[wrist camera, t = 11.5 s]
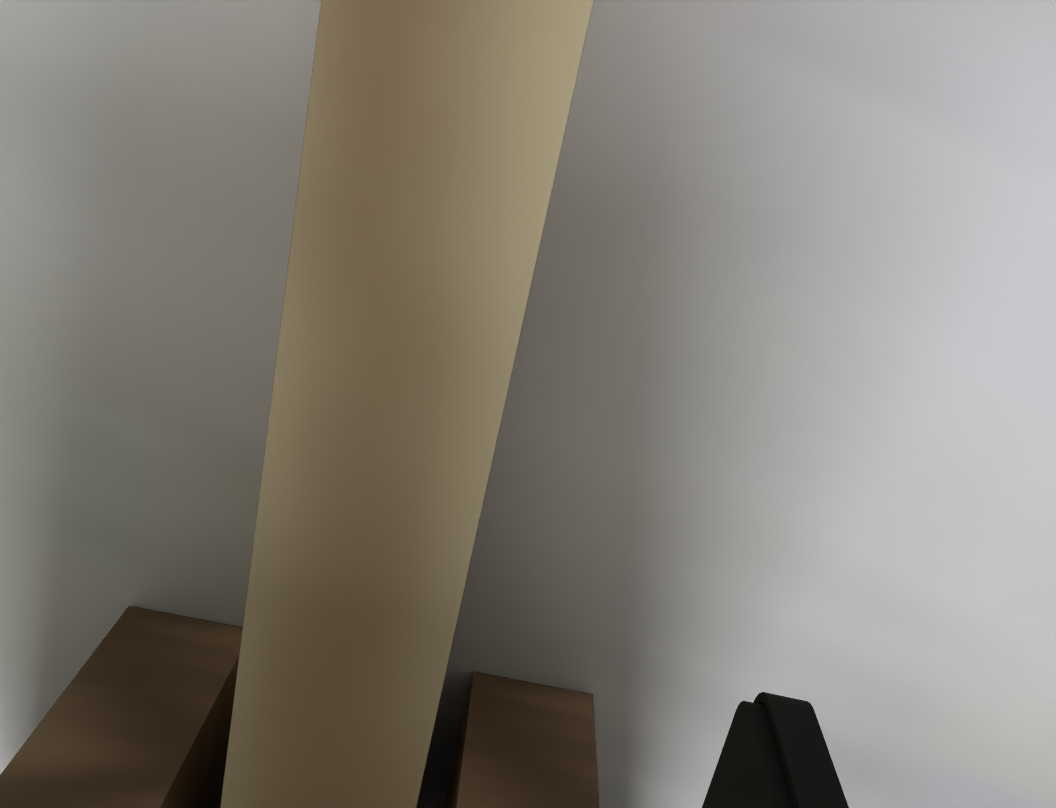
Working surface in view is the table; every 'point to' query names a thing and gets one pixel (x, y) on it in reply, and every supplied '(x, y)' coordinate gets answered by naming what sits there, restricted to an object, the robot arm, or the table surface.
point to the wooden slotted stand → (205, 719)
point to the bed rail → (391, 381)
